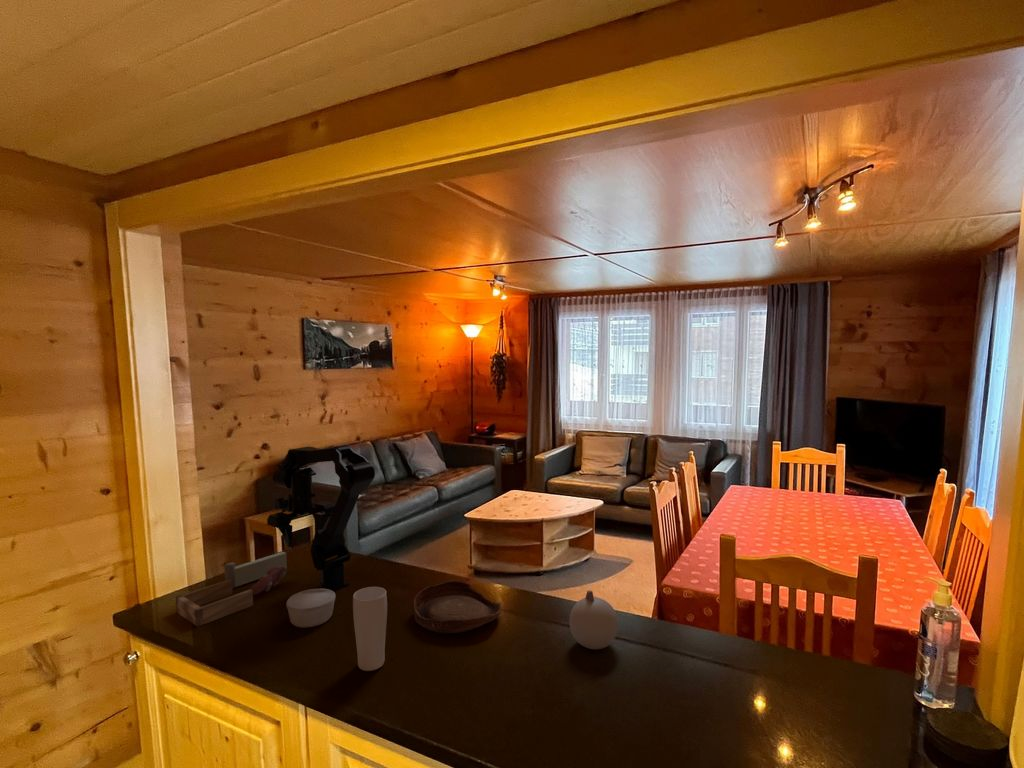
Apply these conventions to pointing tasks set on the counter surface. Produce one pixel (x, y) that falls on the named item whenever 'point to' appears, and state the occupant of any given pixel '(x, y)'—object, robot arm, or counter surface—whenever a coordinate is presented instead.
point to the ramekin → (311, 607)
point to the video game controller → (269, 580)
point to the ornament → (593, 622)
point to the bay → (199, 615)
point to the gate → (253, 569)
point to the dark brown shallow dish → (453, 608)
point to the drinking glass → (370, 626)
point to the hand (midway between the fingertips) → (303, 542)
